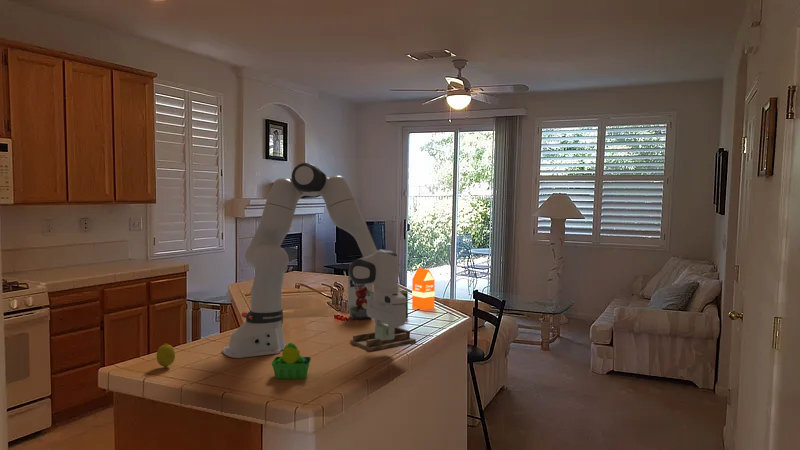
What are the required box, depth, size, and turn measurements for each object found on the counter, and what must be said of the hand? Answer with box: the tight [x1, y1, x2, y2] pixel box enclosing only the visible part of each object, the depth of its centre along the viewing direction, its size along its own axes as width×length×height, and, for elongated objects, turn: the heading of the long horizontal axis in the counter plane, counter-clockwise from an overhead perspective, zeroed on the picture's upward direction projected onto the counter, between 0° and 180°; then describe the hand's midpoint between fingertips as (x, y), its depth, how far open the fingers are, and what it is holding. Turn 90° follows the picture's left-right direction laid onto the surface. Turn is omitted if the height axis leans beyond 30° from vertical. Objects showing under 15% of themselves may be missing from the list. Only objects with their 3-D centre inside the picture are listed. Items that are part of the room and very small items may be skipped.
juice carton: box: [347, 262, 374, 320], centre depth 254 cm, size 9×10×27 cm
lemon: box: [156, 342, 176, 369], centre depth 177 cm, size 6×6×8 cm
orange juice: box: [411, 267, 436, 310], centre depth 280 cm, size 8×9×20 cm
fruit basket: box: [271, 342, 312, 380], centre depth 169 cm, size 11×9×11 cm
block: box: [374, 324, 395, 341], centre depth 195 cm, size 5×5×4 cm
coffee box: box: [399, 289, 409, 320], centre depth 252 cm, size 8×3×13 cm, turn 118°
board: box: [350, 327, 417, 352], centre depth 210 cm, size 21×14×4 cm, turn 127°
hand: (384, 333), depth 195 cm, fingers closed on block, 5 cm apart
